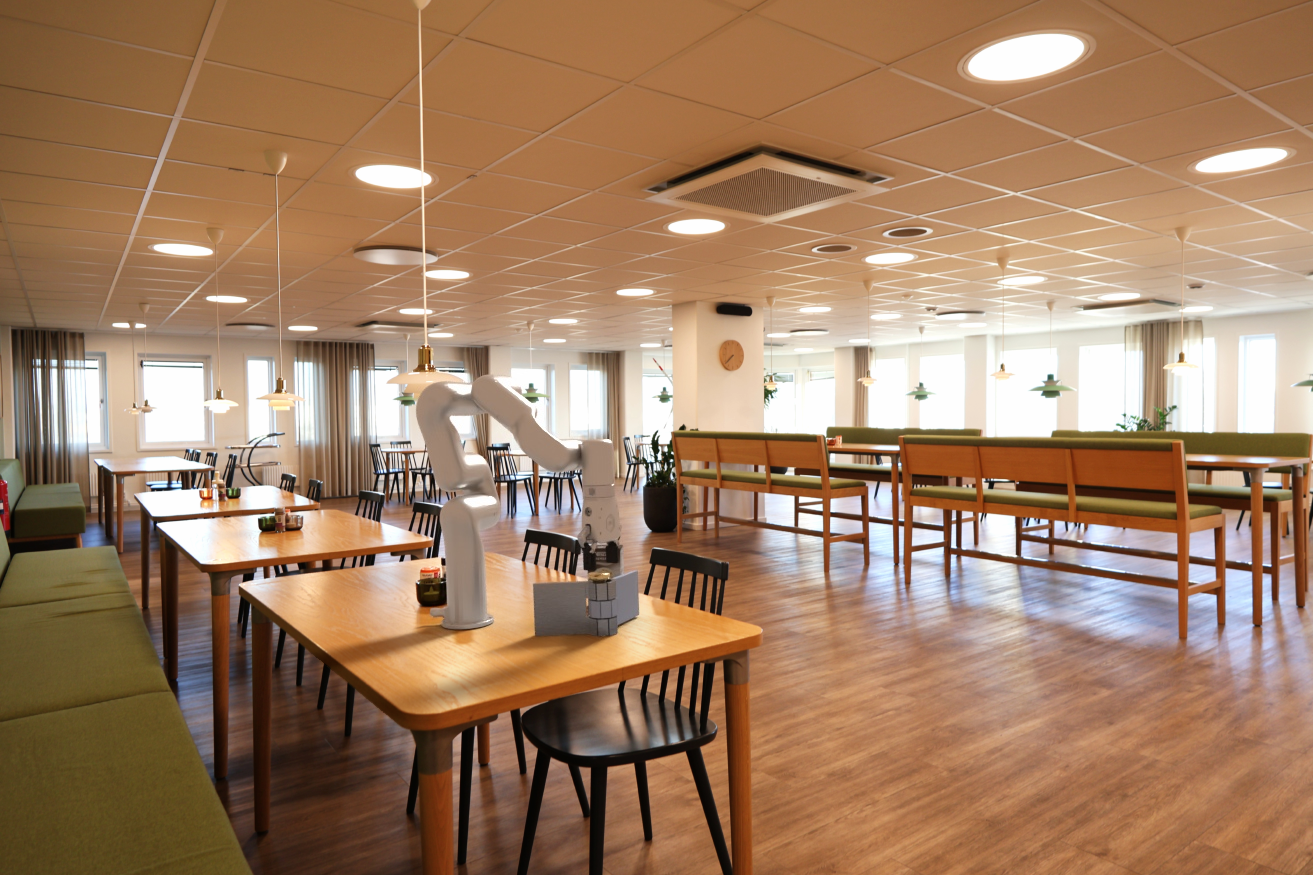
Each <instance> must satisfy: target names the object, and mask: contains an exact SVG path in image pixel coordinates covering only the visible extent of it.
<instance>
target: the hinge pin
mask: <svg viewBox="0 0 1313 875" xmlns="http://www.w3.org/2000/svg"><path fill="white" fill-rule="evenodd" d="M608 579H610V573H609V572H605V571H598V572H591V573H588V572H587V581H588V580H591V581H593V582H595V583H606V580H608ZM597 601H604V600H597ZM598 619H603V618H598Z"/></svg>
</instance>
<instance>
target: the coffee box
mask: <svg viewBox="0 0 1313 875" xmlns="http://www.w3.org/2000/svg"><path fill="white" fill-rule="evenodd" d="M589 545H590V547H591V545H592V544H589ZM606 546H608V545H607V544H597V545H596V548H595V551H594V553H596V566H597V570H596V571H587V574H588V573H591V572H598V571H605V572H609V573H610V578H614V577H617V576H620V575H623V574H625V571H624V570H625V569H624V568H625V567H624V565H625V564H624V545H623V544H619V546H618V553H619V562H618V563H607V562H606Z"/></svg>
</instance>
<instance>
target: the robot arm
mask: <svg viewBox="0 0 1313 875" xmlns="http://www.w3.org/2000/svg"><path fill="white" fill-rule="evenodd" d="M522 391H523V390H522V387H521V386H520V384H519V382H518V381H517V380H516V379H514V378H513V377H512V376H511V377H510V376H508V375H503V374H501V375H499V374H484V375H481V376H479V377H477V378H476V379H475V380H474V381H473V382H461V381H451V380H449V381H446V380H445V381H436V382H433V383H431V384H429V385H428V386H426V387H425V388H424V389H423V390H422V392H421V393H420V395H419V397H418V398H417V402H416V405H415V406H416V407H415V417H416V421H417V425H418V428H419V430H420V432H421V436H422V438H423V441H424V444H425V449H426V452H427V456H428V459H429V463H430V466H431V470H432V475H433V478H434V480H435V482H436V485H437V487H438V488H439V489H440V490H441V491H444V492H447V493H454V492H461V491H462V495H459V496H455V497H453V498H451V499H448V500H447V501H446V502H445V503H444V504H443V506H442V507H441V509H440V514H439V523H440V527H441V528H440V529H441V533H442V537H443V543H444V557H445V558H444V559H445V560H444V561H445V580H446V582H445V584H446V604H447V605H446V606H443V607H441V608H440V607H439V608H438V607H434V608H433V607H431V608H430V611H429V615H430V617H433V618H443V619H442V620H441V626H442V627H443V628H445V629H448V630H471V629H478V628H481V627H485V626H486V627H487V626H488V625H491V624H493V623H494V619H495V616H494V615H493V614H491V613H488V603H487V602H488V600H487V598H488V596H487V573H486V569H487V568H486V553H485V552H486V550H485V546H484V542H483V539H482V536H481V533H480V532H482V531H485V530H486V531H487V530H488V529H491V528H493V527H494V526H496V525H497V523H498V522H499V521H500V518H501V515H502V507H501V501H500V498H499V495H498V492H497V491H498V490H497V487H496V483H495V481H494V477H493V473H492V470H491V468H490V467H491V466H490V465H489V463H488V462H487V460H486V459H485V458H484V457H483V456H482V455H480V454H479V453H476V452H465V450H464V447H463V444H462V441H461V437H460V433H459V432H458V431H459V430H458V429H457V428H456V426H455V425H454V424H453V422H452V420H451V416H453V417H457V416H458V417H459V416H461V417H466V416H467V417H469V416H477V415H483V414H485V415H486V414H488V415H489V416H490V417H491V418H493V419H494V420H496V421H497V422H498V423H499V424H501V425H502V426H503V427H504V428H505V429H507V431H508V432H510V433H511V434H512V436H513V438H514V440H515V442H516V444H517V446H518V447H519V448H520V449H521V451H522V452H523V453H524V454H525V455H526V456H527V457H528V458H530V459H531V460H533V461H534V462H535V463H536V464H538V466H540V467H541V468H542V469H544V470H546V471H548V472H550V473H564V472H570V471H571V472H574V471H579V470H581V484H582V487H581V488H582V508H581V531H580V532H579V533H578V534H577V541H578V543H579V544H578V545H579V548H580V549H581V550H580V551H581V553H582V561H583V566H582V567H583V570H584V571H587V572H588V571H596V570H597V566H596V553H594V551H595V548H596V545H598V544H599V545H603V544H606V545H608V546H606V562H607V563H618V562H619V553H618V546H619V545H620V539H621V532H622V525H621V520H620V512H619V505H618V500H617V497H616V478H615V477H616V476H615V452H614V451H615V449H614V443H613V440H611V439H608V438H595V439H594V438H593V439H590V438H589V439H578V438H562V439H561V438H559V439H558V438H556V437H555V436H554V435H553V434H551V433H550V432H548V431H547V430H546V429H545V428H543V426H542V425H541V424H540V423H539V422H538V421H537V416H538V408H537V406H536V405H535V404H533V403H532V402H531V401H529V399H527V398H526V397H525V396H523V392H522ZM590 545H591V547H590Z"/></svg>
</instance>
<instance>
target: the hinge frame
mask: <svg viewBox="0 0 1313 875" xmlns="http://www.w3.org/2000/svg"><path fill="white" fill-rule="evenodd" d="M532 588H533V589H532V593H533V597H532V598H533V620H534V622H533V624H534V636H535V637H547V636H570V635H572V636H573V635H574V636H575V635H590V636H594V637H610V636H614V635H617V634H618V633H619V629H618V628H619V627H618V626H619V625H618V623H617V615H616V616H614V617H611V618H603V619H598V618H592V617H590V616H589V615H588V606H587V605H588V603H587V600H588V599H591V600H610V599H614V598H616V596H617V594H616V579H612V578H610V579H608V580H606V583H595V582H593V581H591V580H588V579H587V580H577V581H555V582H534V583H532Z"/></svg>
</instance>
